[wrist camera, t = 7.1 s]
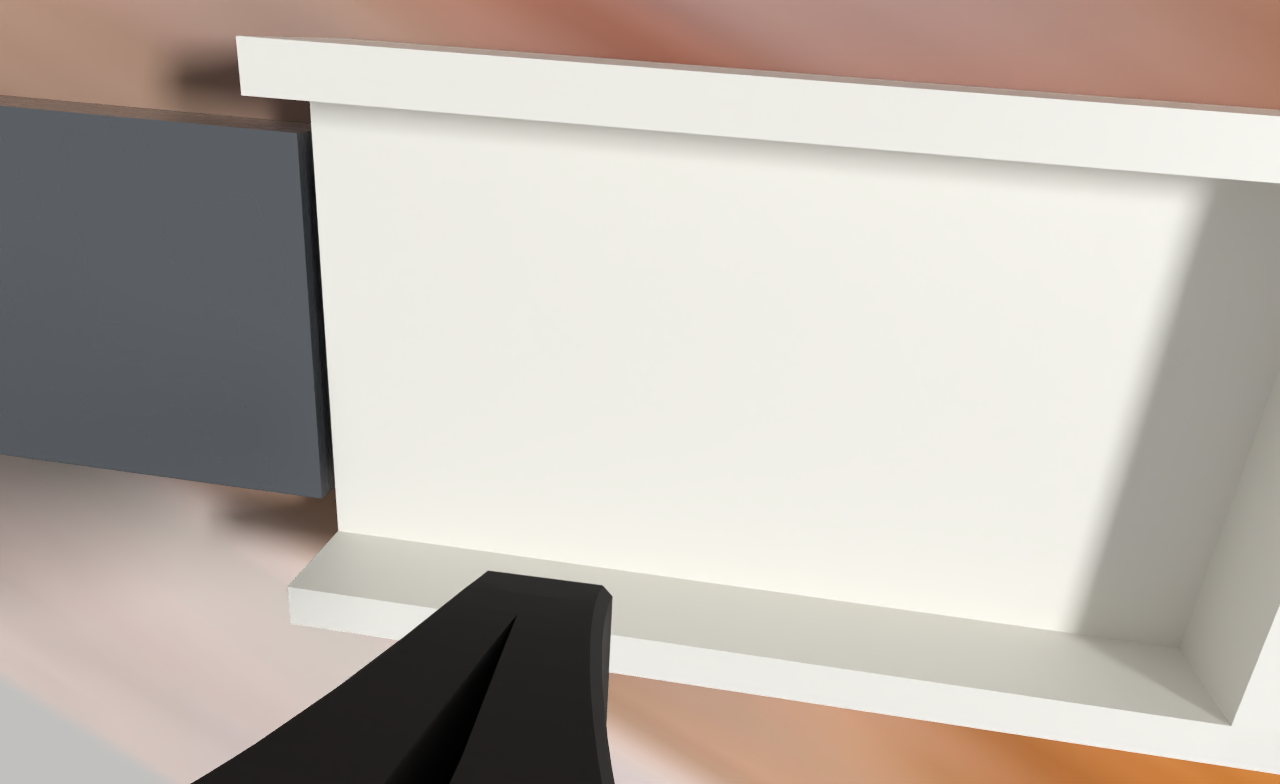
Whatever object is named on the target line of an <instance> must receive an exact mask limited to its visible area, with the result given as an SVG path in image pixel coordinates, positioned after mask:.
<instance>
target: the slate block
mask: <svg viewBox="0 0 1280 784" xmlns="http://www.w3.org/2000/svg"><path fill="white" fill-rule="evenodd" d="M0 454H2V455H9V456H17V457H24V458H31V459H38V460H46V461H53V462H60V463H67V464H75V465H82V466H89V467H96V468H104V469H111V470H118V471H125V472H132V473H140V474H147V475H154V476H161V477H169V478H176V479H183V480H190V481H198V482H205V483H212V484H219V485H226V486H234V487H241V488H248V489H255V490H263V491H270V492H277V493H284V494H292V495H299V496H306V497H313V498H321V499H322V498H323V497H324V496H325V495H326V494H327V493H328V492H329V491H330V490H331V489H332V488H333V487H334V486H335V474H334V459H333V444H332V429H331V414H330V399H329V384H328V369H327V354H326V339H325V324H324V309H323V294H322V279H321V264H320V249H319V234H318V219H317V204H316V189H315V174H314V159H313V144H312V129H311V123H300V122H289V121H278V120H267V119H256V118H245V117H234V116H223V115H213V114H202V113H191V112H180V111H169V110H158V109H147V108H136V107H125V106H114V105H103V104H92V103H81V102H70V101H60V100H49V99H38V98H27V97H16V96H5V95H0Z"/></svg>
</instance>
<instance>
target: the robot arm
mask: <svg viewBox="0 0 1280 784" xmlns="http://www.w3.org/2000/svg"><path fill="white" fill-rule="evenodd" d="M612 600H613V596H612V595H611V594H610V593H609V592H608V591H607V590H606V588H605V587H604V586H603V585H597V584H589V583H581V582H574V581H566V580H558V579H550V578H543V577H535V576H527V575H519V574H512V573H504V572H496V571H487V572H485V573H484V574H483V575H482V576H480V577H479V578H478V579H476V580H475V581H474V582H472V583H471V584H470V585H468V586H467V587H466V588H464V589H463V590H462V591H461V592H459V593H458V594H457V595H456V596H454V597H453V598H452V599H451V600H449V601H448V602H447V603H445V604H444V605H443V606H442V607H440V608H439V609H438V610H437V611H435V612H434V613H433V614H432V615H430V616H429V617H428V618H427V619H425V620H424V621H423V622H422V623H420V624H419V625H418V626H417V627H415V628H414V629H413V630H412V631H410V632H409V633H408V634H407V635H405V636H404V637H403V638H401V639H400V640H399V641H398V642H396V643H395V644H394V645H392V646H391V647H390V648H389V649H387V650H386V651H385V652H383V653H382V654H381V655H379V656H378V657H377V658H375V659H374V660H373V661H371V662H370V663H369V664H367V665H366V666H365V667H363V668H362V669H361V670H359V671H358V672H357V673H356V674H354V675H353V676H352V677H350V678H349V679H348V680H346V681H345V682H344V683H342V684H341V685H340V686H338V687H337V688H336V689H334V690H333V691H331V692H330V693H328V694H327V695H326V696H324V697H323V698H321V699H320V700H318V701H317V702H315V703H314V704H312V705H311V706H310V707H308V708H307V709H305V710H304V711H302V712H301V713H299V714H298V715H296V716H295V717H294V718H292V719H291V720H289V721H288V722H286V723H285V724H283V725H282V726H281V727H279V728H278V729H276V730H275V731H273V732H272V733H270V734H269V735H267V736H266V737H265V738H263V739H262V740H260V741H259V742H257V743H256V744H254V745H253V746H251V747H250V748H248V749H246V750H245V751H243V752H242V753H240V754H239V755H237V756H235V757H234V758H232V759H231V760H229V761H227V762H226V763H224V764H223V765H221V766H219V767H218V768H216V769H214V770H213V771H211V772H209V773H208V774H206V775H205V776H203V777H201V778H200V779H198V780H196V781H195V782H193V783H191V784H615V783H614V778H613V772H612V766H611V759H610V752H609V745H608V738H607V728H606V719H607V700H608V680H609V660H610V640H611V620H612Z"/></svg>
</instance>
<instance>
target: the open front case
mask: <svg viewBox="0 0 1280 784" xmlns="http://www.w3.org/2000/svg"><path fill="white" fill-rule="evenodd" d="M236 43H237V54H238V65H239V75H240V86H241V95H243V96H255V97H266V98H278V99H290V100H302V101H310V114H311V129H312V144H313V159H314V174H315V189H316V204H317V219H318V234H319V249H320V264H321V279H322V294H323V309H324V324H325V339H326V354H327V369H328V384H329V399H330V414H331V429H332V444H333V459H334V474H335V489H336V504H337V519H338V532H337V533H336V534H335V535H334V536H333V537H332V538H331V539H330V540H329V542H328V543H327V544H326V545H325V546H324V547H323V548H322V549H321V550H320V551H319V553H318V554H317V555H316V556H315V557H314V558H313V559H312V560H311V561H310V562H309V564H308V565H307V566H306V567H305V568H304V569H303V570H302V571H301V572H300V573H299V575H298V576H297V577H296V578H295V579H294V580H293V581H292V582H291V583H290V584H289V586H288V587H287V589H288V599H289V610H290V621H291V624H296V625H302V626H309V627H315V628H322V629H328V630H335V631H342V632H348V633H355V634H361V635H368V636H374V637H381V638H387V639H394V640H400V639H401V638H403V637H404V636H405V635H407V634H408V633H409V632H410V631H412V630H413V629H414V628H415V627H417V626H418V625H419V624H420V623H422V622H423V621H424V620H425V619H427V618H428V617H429V616H430V615H432V614H433V613H434V612H435V611H437V610H438V609H439V608H440V607H442V606H443V605H444V604H445V603H447V602H448V601H449V600H451V599H452V598H453V597H454V596H456V595H457V594H458V593H459V592H461V591H462V590H463V589H464V588H466V587H467V586H468V585H470V584H471V583H472V582H474V581H475V580H476V579H478V578H479V577H480V576H482V575H483V574H484V573H485V572H487V571H496V572H504V573H512V574H519V575H527V576H535V577H543V578H550V579H558V580H566V581H574V582H581V583H589V584H597V585H603V586H604V587H605V588H606V590H607V591H608V592H609V593H610V594H611V595H612V596H613V600H612V620H611V640H610V660H609V672H611V673H617V674H624V675H630V676H637V677H643V678H650V679H657V680H663V681H670V682H676V683H683V684H689V685H696V686H703V687H709V688H716V689H722V690H729V691H735V692H742V693H748V694H755V695H762V696H768V697H775V698H781V699H788V700H794V701H801V702H808V703H814V704H821V705H827V706H834V707H840V708H847V709H853V710H860V711H867V712H873V713H880V714H886V715H893V716H899V717H906V718H913V719H919V720H926V721H932V722H939V723H945V724H952V725H958V726H965V727H972V728H978V729H985V730H991V731H998V732H1004V733H1011V734H1018V735H1024V736H1031V737H1037V738H1044V739H1050V740H1057V741H1063V742H1070V743H1077V744H1083V745H1090V746H1096V747H1103V748H1109V749H1116V750H1123V751H1129V752H1136V753H1142V754H1149V755H1155V756H1162V757H1169V758H1175V759H1182V760H1188V761H1195V762H1201V763H1208V764H1214V765H1221V766H1228V767H1234V768H1241V769H1247V770H1254V771H1260V772H1267V773H1274V774H1280V110H1276V109H1263V108H1250V107H1237V106H1224V105H1211V104H1197V103H1184V102H1171V101H1158V100H1145V99H1132V98H1119V97H1106V96H1093V95H1080V94H1067V93H1054V92H1040V91H1027V90H1014V89H1001V88H988V87H975V86H962V85H949V84H936V83H923V82H910V81H896V80H883V79H870V78H857V77H844V76H831V75H818V74H805V73H792V72H779V71H766V70H753V69H739V68H726V67H713V66H700V65H687V64H674V63H661V62H648V61H635V60H622V59H609V58H595V57H582V56H569V55H556V54H543V53H530V52H517V51H504V50H491V49H478V48H465V47H452V46H438V45H425V44H412V43H399V42H386V41H373V40H360V39H347V38H305V37H263V36H236Z"/></svg>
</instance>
